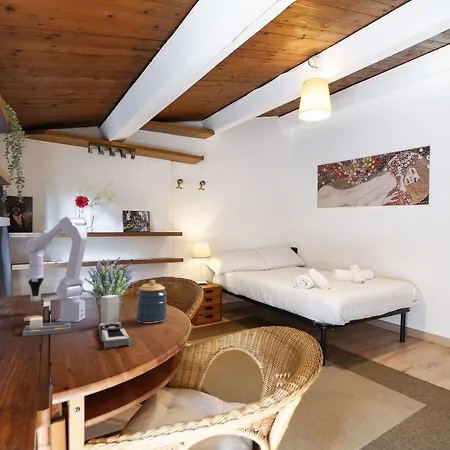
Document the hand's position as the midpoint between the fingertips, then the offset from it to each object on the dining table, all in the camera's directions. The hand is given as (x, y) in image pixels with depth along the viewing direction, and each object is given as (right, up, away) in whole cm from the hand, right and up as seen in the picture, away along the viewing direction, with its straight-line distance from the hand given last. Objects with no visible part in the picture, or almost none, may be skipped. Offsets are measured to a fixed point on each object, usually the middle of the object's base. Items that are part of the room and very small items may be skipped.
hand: (35, 295), depth 165 cm
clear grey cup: (0, -2, 0) cm, 2 cm away
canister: (+54, -10, -8) cm, 56 cm away
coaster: (+4, -8, -10) cm, 14 cm away
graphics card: (+46, -10, -32) cm, 57 cm away
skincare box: (+39, -9, -16) cm, 43 cm away
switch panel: (+18, -9, -26) cm, 33 cm away
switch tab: (+15, -7, -28) cm, 32 cm away
